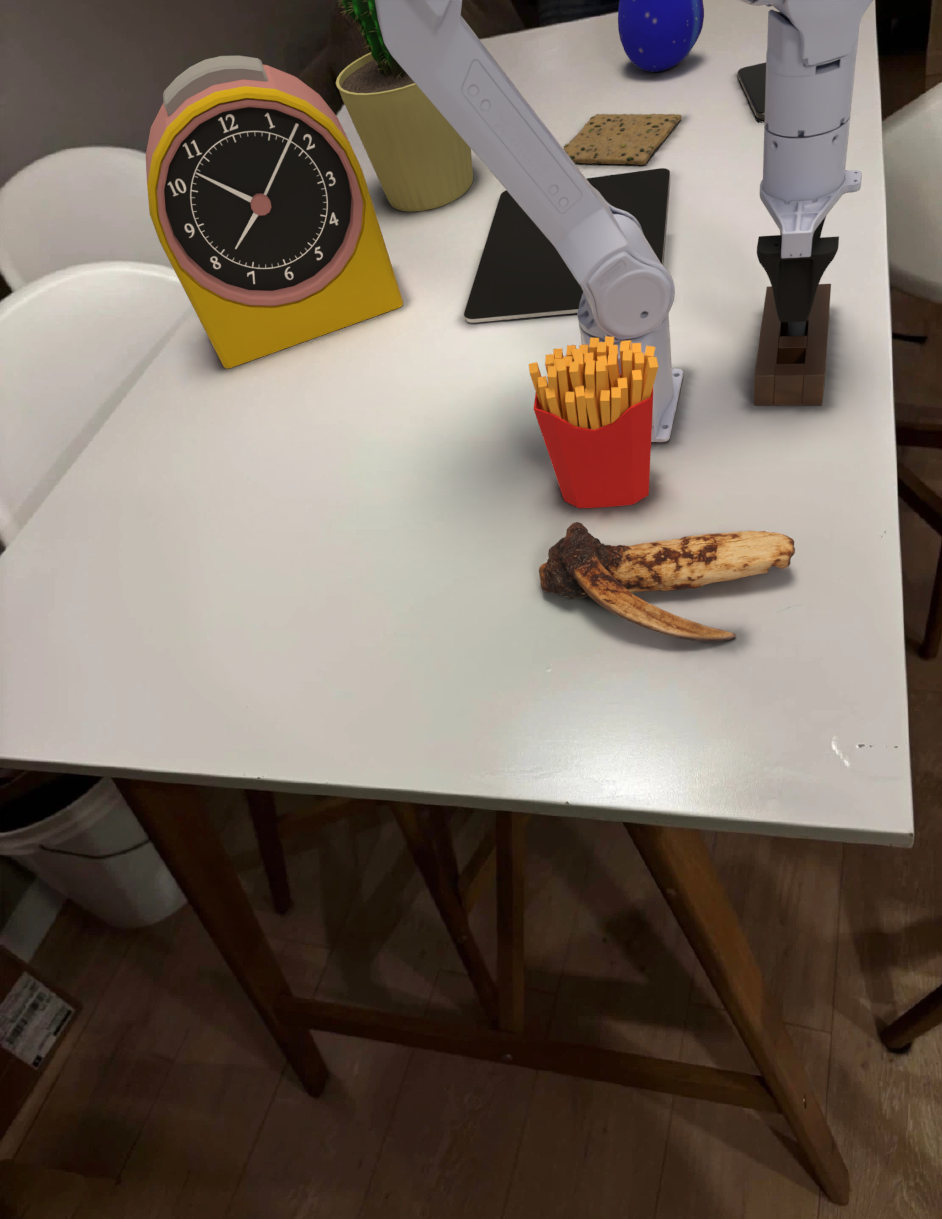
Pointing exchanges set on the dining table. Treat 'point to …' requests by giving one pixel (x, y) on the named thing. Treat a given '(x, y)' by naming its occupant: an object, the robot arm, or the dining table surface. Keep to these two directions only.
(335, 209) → the alarm clock
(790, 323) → the stylus
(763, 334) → the stand
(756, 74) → the smartphone
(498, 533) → the dining table surface
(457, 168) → the potted cactus
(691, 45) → the ornament
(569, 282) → the tablet
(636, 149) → the cookie
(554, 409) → the french fries
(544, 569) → the lashed bone hook
